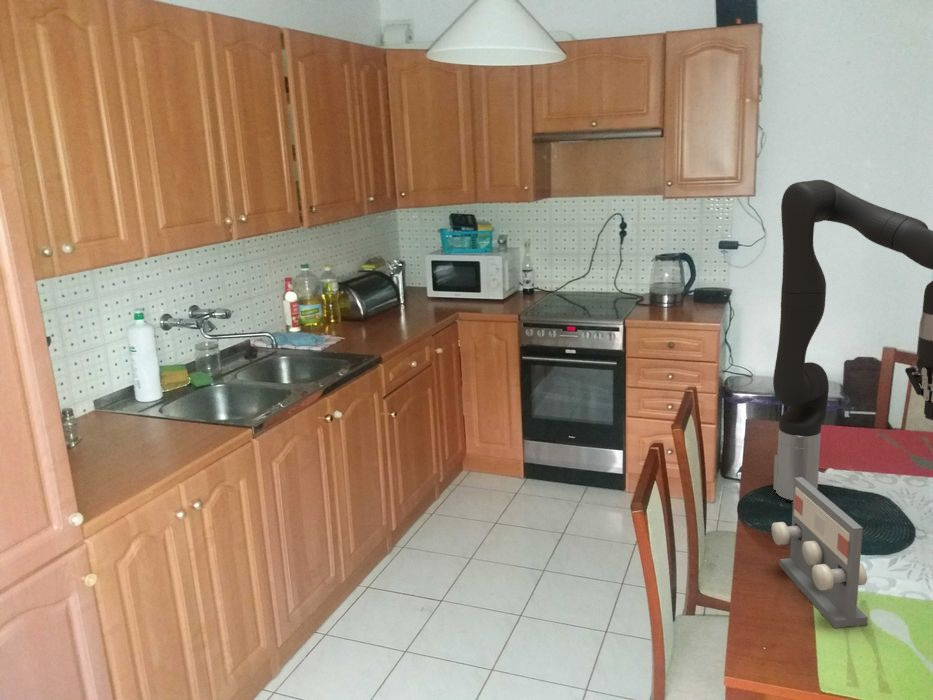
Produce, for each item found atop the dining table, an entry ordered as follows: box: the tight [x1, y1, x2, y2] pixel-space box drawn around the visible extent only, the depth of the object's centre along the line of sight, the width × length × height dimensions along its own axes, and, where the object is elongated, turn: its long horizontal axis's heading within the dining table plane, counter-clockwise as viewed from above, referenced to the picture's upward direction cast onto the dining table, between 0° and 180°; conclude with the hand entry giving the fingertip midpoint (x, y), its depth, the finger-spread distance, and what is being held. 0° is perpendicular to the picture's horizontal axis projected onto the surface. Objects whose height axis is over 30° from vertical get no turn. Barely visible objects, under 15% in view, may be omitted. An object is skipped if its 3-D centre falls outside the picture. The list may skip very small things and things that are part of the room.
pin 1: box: [771, 521, 802, 546], centre depth 151 cm, size 8×4×4 cm, turn 94°
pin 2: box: [812, 562, 868, 590], centre depth 136 cm, size 8×4×4 cm, turn 94°
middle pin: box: [802, 541, 823, 565], centre depth 144 cm, size 8×4×4 cm, turn 94°
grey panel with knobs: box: [778, 477, 868, 629], centre depth 143 cm, size 6×21×20 cm, turn 4°
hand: (932, 418), depth 151 cm, fingers closed
